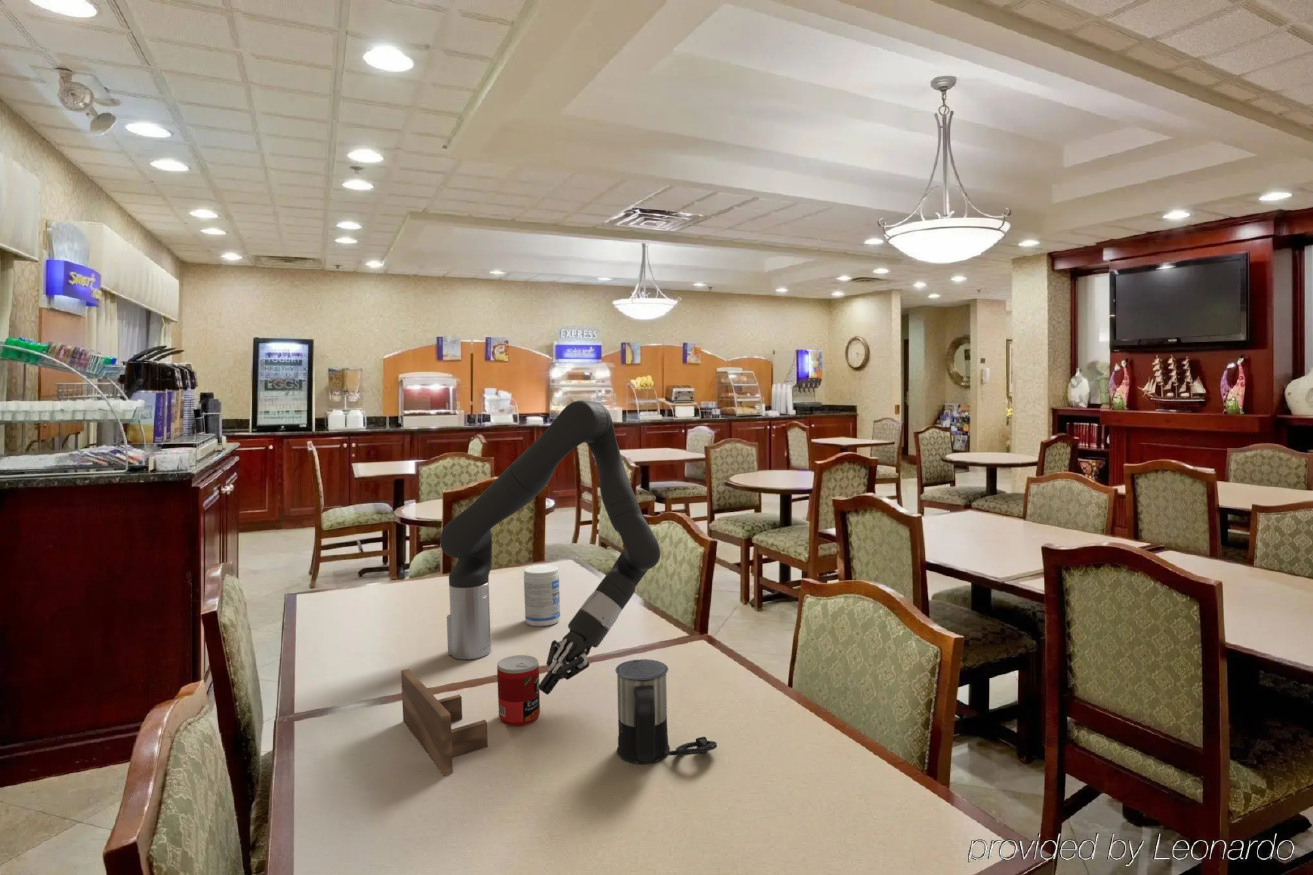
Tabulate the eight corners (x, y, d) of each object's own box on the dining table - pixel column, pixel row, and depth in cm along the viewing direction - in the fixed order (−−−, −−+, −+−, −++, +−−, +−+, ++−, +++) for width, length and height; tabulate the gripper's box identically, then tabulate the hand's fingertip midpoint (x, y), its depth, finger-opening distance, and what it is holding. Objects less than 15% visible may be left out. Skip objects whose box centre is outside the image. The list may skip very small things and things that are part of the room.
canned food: (531, 728, 133) (530, 671, 132) (491, 725, 134) (489, 668, 134) (546, 710, 140) (544, 656, 139) (508, 707, 142) (506, 653, 141)
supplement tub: (561, 625, 191) (560, 571, 190) (526, 629, 188) (524, 574, 187) (558, 614, 200) (557, 563, 199) (524, 617, 198) (522, 565, 197)
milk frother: (609, 744, 126) (607, 663, 125) (689, 726, 133) (688, 649, 132) (638, 784, 113) (637, 694, 112) (726, 763, 119) (725, 677, 118)
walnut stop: (451, 708, 142) (450, 659, 141) (498, 758, 122) (496, 701, 122) (403, 721, 136) (401, 670, 136) (443, 775, 117) (441, 716, 116)
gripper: (568, 600, 150) (515, 671, 144) (600, 616, 139) (544, 693, 133) (590, 620, 153) (540, 689, 147) (623, 637, 142) (570, 713, 136)
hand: (542, 691), depth 140 cm, fingers closed
